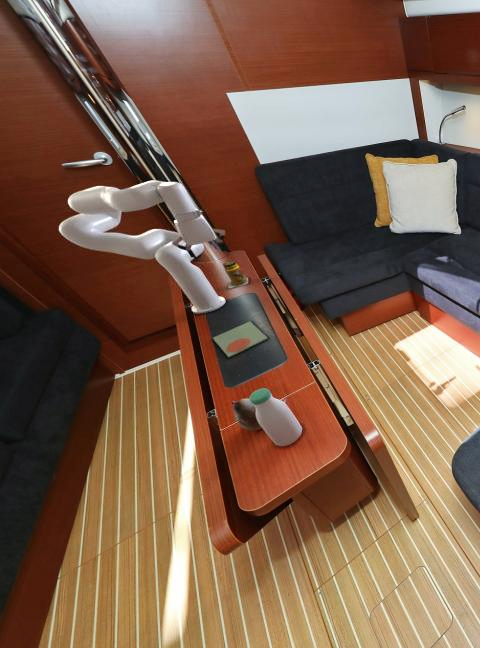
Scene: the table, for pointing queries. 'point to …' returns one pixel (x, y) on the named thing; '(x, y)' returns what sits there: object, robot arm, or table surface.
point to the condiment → (235, 274)
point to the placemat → (240, 339)
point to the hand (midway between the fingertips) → (209, 254)
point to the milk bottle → (275, 418)
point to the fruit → (246, 414)
